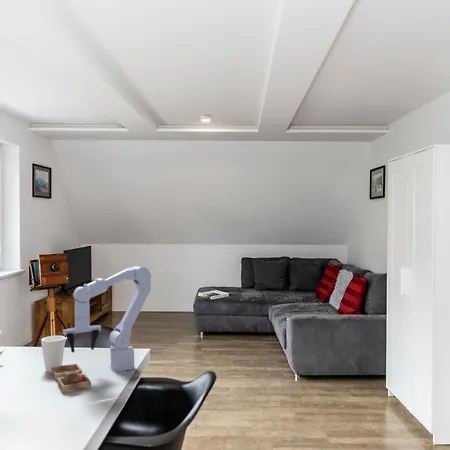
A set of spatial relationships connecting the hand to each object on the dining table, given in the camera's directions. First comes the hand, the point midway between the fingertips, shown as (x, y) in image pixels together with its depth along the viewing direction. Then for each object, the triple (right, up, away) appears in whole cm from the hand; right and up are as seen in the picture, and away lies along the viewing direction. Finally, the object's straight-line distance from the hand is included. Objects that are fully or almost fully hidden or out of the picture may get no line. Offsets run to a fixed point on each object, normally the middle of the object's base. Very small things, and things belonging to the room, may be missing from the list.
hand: (82, 350), depth 182 cm
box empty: (-6, -10, -1) cm, 12 cm away
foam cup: (-15, -10, +8) cm, 19 cm away
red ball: (+2, -9, -12) cm, 15 cm away
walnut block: (+1, -9, -16) cm, 19 cm away
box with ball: (+1, -10, -14) cm, 17 cm away
